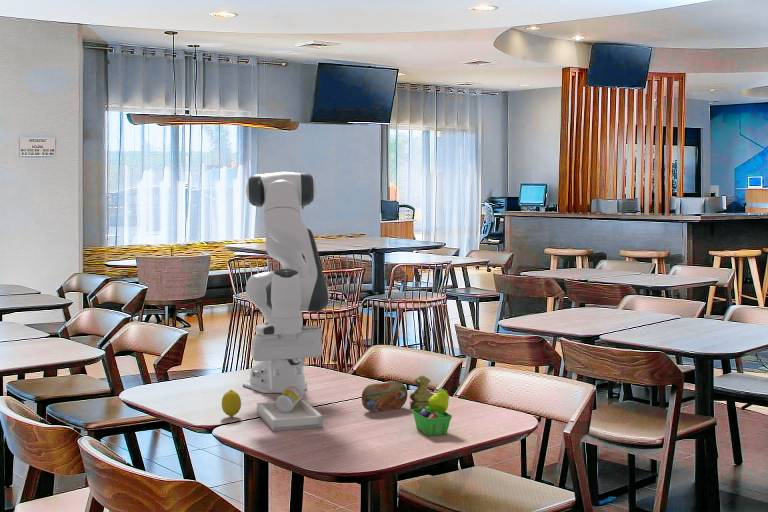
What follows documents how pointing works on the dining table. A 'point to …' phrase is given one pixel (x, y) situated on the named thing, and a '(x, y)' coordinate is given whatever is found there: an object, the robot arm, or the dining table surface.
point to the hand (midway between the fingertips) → (287, 374)
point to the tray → (290, 416)
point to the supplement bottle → (290, 398)
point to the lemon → (231, 403)
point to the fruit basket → (434, 415)
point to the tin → (384, 396)
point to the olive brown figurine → (420, 394)
